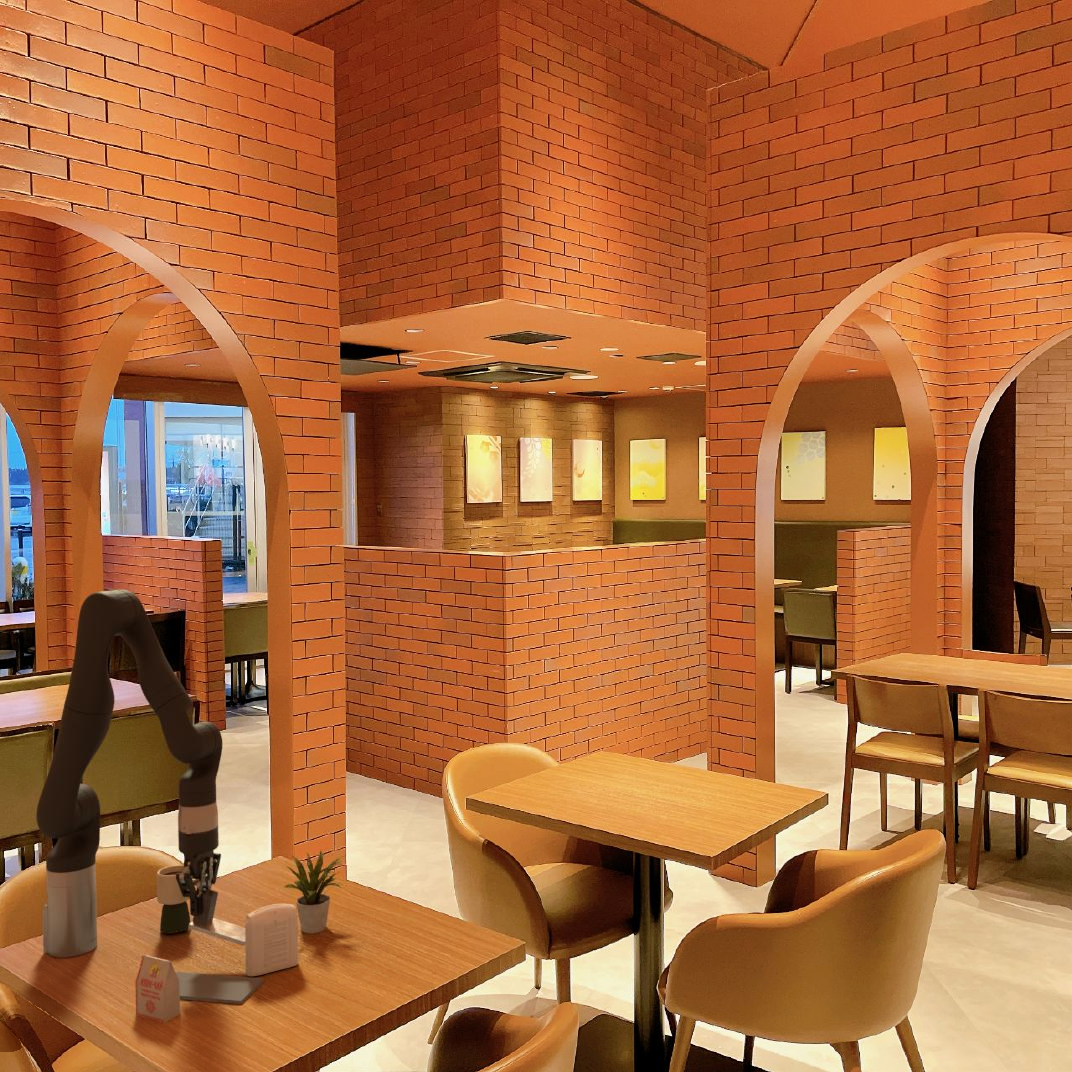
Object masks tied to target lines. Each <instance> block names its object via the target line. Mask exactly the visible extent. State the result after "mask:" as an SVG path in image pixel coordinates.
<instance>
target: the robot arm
mask: <svg viewBox="0 0 1072 1072" xmlns="http://www.w3.org/2000/svg"><path fill="white" fill-rule="evenodd" d="M116 636H120V637H121V638H122V639H123V640H124V642H125V643H126V644H127V646H128V647H129V648H130V650H131V652H132V654H133V656H134V659H135V663H136V668H137V674H138V675H137V676H138V683H139V686H140V689H141V691H142V694H143V697H145V698H144V699H146V701H147V702H148V704H149V705H150V706H149V707H150V708H152V710H153V712H154V714H155V715H156V716H157V718H158V720H159V723H160V726H161V727H160V728H161V730H162V731H161V732H162V734H163V737H164V740H165V743H166V746H167V748H168V750H169V752H170V754H171V755H172V756H173V758H175V759H176V760H177V761H178V762H180V763H182V764H187V765H188V764H189V765H188V767H187V770H186V771H185V772H184V773H183V774H182V775H181V776H180V778H179V781H178V811H177V812H178V813H177V833H178V834H177V836H178V837H177V838H178V839H177V840H178V842H177V843H178V851H179V852H180V853H181V854H183V855H184V861H183V865H184V869H183V871H182V873H177V874H176V880H177V883H178V885H179V888H180V891H181V893H182V896H183V897H189V898H190V899H189V914H190V915H191V916H192V917H194V916H200V915H201V914H202V896H201V895H202V889H204V888H206V889H209V890H212V885H215V884H216V881H217V877H218V873H219V870H220V868H219V867H220V863H221V858H222V853H215V852H214V851H215V850H217V848H218V847H219V810H218V805H217V804H218V803H217V802H218V801H217V782H216V780H217V776H218V773H219V769H220V763H221V757H222V753H223V738H222V737H223V736H222V733H221V730H220V729H219V728H218V726H217V725H216V724H215V723H213V722H211V721H202V722H201V721H200V722H197V723H194V724H193V723H192V722H191V719H190V716H189V714H190V713H191V712H192V710H193V708H194V703H193V700H192V698H191V697H190V695H189V693H188V692H187V690H186V689H185V687H184V686H183V685H182V682H181V681H180V679H179V678H178V677H177V675H176V673H175V672H174V669H172V666H171V665H170V663H169V661H168V659H167V657H166V655H165V653H164V650H163V648H162V646H161V644H160V642H159V639H158V638H157V635H156V633H155V630H154V628H153V625H152V623H151V621H150V619H149V616H148V614H147V612H146V609H145V607H144V605H143V603H142V601H141V600H140V599H139V597H138V596H137V595H136V594H135V593H134V592H132V591H130V590H127V589H114V590H103V591H101V590H100V591H96V592H93V593H91V594H89V595H88V596H87V597H85V599H84V601H83V602H82V605H81V606H80V611H79V615H78V621H77V630H76V639H75V650H74V656H73V661H72V662H73V663H72V668H71V672H70V673H71V674H70V679H69V684H68V688H67V693H66V697H65V700H64V705H63V708H62V709H63V710H62V714H61V718H60V725H59V729H58V733H57V734H58V735H57V739H56V743H55V746H54V750H53V755H52V758H51V763H50V766H49V769H48V770H49V771H48V772H47V776H46V779H45V781H44V785H43V788H42V790H41V794H40V796H39V800H38V803H37V807H36V813H35V815H36V817H35V818H36V824H37V826H38V829H39V831H40V832H41V834H42V835H43V836H45V837H46V838H49V839H58V840H57V842H56V843H55V845H54V846H53V847H52V849H51V850H50V851H49V852H48V853H47V856H46V860H45V870H46V871H45V872H46V903H45V904H44V905H43V907H42V941H43V942H42V943H43V948H42V949H43V953H44V954H48V955H49V956H51V957H54V958H71V957H77V956H80V955H85V954H87V953H90V952H91V951H93V950H94V949H96V947H97V945H98V915H97V913H98V912H97V911H98V910H97V876H96V875H97V874H96V872H97V869H96V862H97V860H96V858H97V857H96V856H97V852H98V849H99V846H100V835H101V804H100V799H99V797H98V794H97V793H96V791H95V790H94V789H93V787H92V786H91V785H88V784H85V783H82V780H83V778H84V777H83V776H84V773H85V772H86V770H87V768H88V766H89V764H90V763H91V761H92V760H93V758H94V756H95V755H96V753H97V752H98V750H99V749H100V748H101V746H102V744H103V742H104V741H105V739H106V737H107V735H108V732H109V730H110V729H109V728H110V726H111V721H112V717H113V712H114V708H115V701H116V700H115V693H114V687H113V684H112V680H111V678H110V673H109V670H108V661H109V656H110V651H111V647H112V646H111V645H112V643H113V639H114V637H116Z"/></svg>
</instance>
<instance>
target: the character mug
mask: <svg viewBox="0 0 1072 1072" xmlns="http://www.w3.org/2000/svg"><path fill="white" fill-rule="evenodd" d="M183 869H184V864H176V865H175V864H174V865H168V866H165V867H162V868H160V869H159V870H157V872H156V899H157V902H158V904H160V905H163V906H162V909H161V915H160V924H159V925H160V927H159V931H160V932H161V933H162V934H172V933H180V932H182V931H188V930H190V928H188V927H189V924H190V923H191V922H192V921H191V916H190V915H191V914H190V908H189V903H188V902H187V901H188V900H189V901H190V898H189V897H183V896H182V893H181V891H180V888H179V885H178V883H177V880H176V874H177V873H182V871H183Z"/></svg>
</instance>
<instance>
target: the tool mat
mask: <svg viewBox="0 0 1072 1072" xmlns="http://www.w3.org/2000/svg"><path fill="white" fill-rule="evenodd" d="M175 973H176V975H177V977H178V979H179V987H180V1000H185V1001H186V1000H188V1001H199V1002H211V1003H221V1004H222V1003H225V1004H234V1005H242V1004H243V1003H244V1002H245V1001H246V1000H247V999H248V998H249V997H250V996H251V995H252V994H253V993H254V992H256V990H257V989H258V988H260V987H261V985H262V984H264V983H265V978H259V977H250V976H248V977H247V976H236V975H235V976H234V975H221V974H211V973H210V974H209V973H208V974H207V973H197V972H187V971H186V972H184V971H183V972H182V971H175Z"/></svg>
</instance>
